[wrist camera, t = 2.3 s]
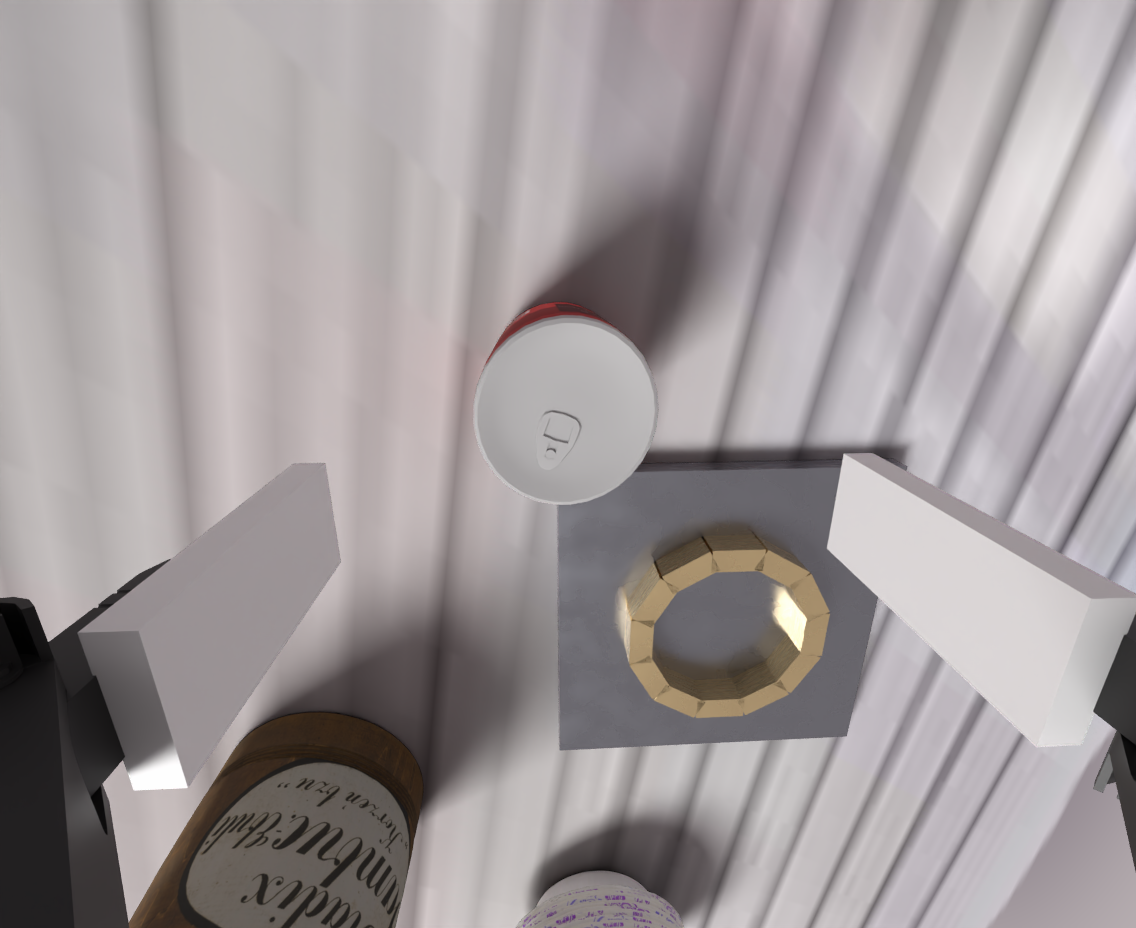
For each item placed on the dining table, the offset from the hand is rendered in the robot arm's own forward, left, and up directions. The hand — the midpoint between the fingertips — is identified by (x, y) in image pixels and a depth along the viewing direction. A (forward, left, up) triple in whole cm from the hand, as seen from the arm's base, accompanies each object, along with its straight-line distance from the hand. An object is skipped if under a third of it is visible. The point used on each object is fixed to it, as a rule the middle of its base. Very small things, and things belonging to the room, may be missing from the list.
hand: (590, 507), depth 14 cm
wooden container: (-18, -32, -20) cm, 42 cm away
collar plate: (+11, -17, -20) cm, 28 cm away
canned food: (0, 0, -20) cm, 20 cm away
